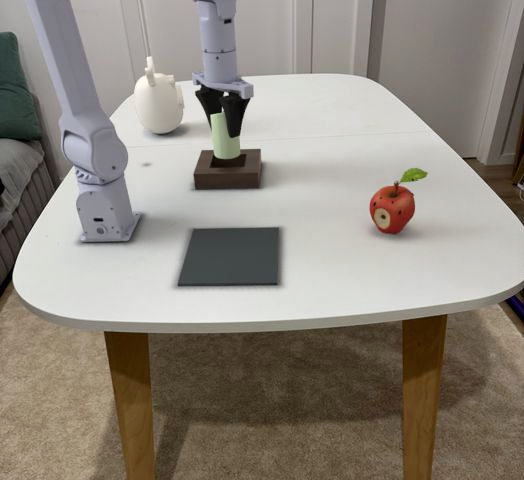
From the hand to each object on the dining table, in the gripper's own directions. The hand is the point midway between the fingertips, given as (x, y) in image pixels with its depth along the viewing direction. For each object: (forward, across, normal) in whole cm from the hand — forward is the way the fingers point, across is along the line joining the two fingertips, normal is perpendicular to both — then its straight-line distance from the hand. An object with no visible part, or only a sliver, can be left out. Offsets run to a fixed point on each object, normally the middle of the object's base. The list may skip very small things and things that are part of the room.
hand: (225, 133), depth 94 cm
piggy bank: (+8, +32, -7) cm, 34 cm away
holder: (+8, 0, 0) cm, 8 cm away
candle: (+4, 0, 0) cm, 4 cm away
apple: (+8, -36, -4) cm, 37 cm away
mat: (+8, -23, +19) cm, 31 cm away
